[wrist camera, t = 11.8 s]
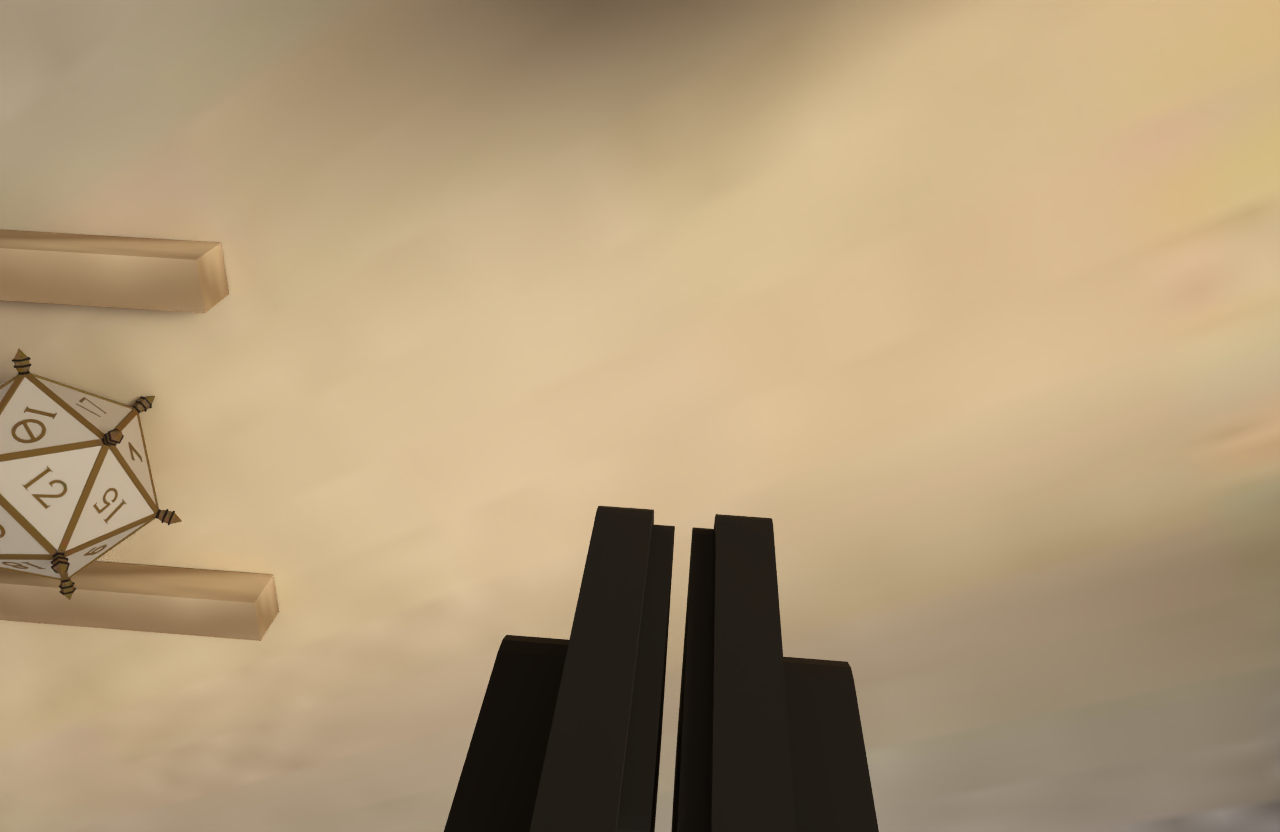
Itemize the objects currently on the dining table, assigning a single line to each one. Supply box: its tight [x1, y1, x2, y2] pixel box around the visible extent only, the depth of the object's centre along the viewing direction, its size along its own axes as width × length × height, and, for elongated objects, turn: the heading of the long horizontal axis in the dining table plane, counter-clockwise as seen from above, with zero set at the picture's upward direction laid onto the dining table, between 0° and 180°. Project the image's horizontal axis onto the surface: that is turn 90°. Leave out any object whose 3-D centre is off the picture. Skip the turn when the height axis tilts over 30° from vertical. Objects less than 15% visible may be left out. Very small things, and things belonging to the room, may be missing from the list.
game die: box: [0, 349, 181, 600], centre depth 38 cm, size 9×8×10 cm
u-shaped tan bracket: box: [0, 230, 279, 641], centre depth 41 cm, size 17×16×2 cm
